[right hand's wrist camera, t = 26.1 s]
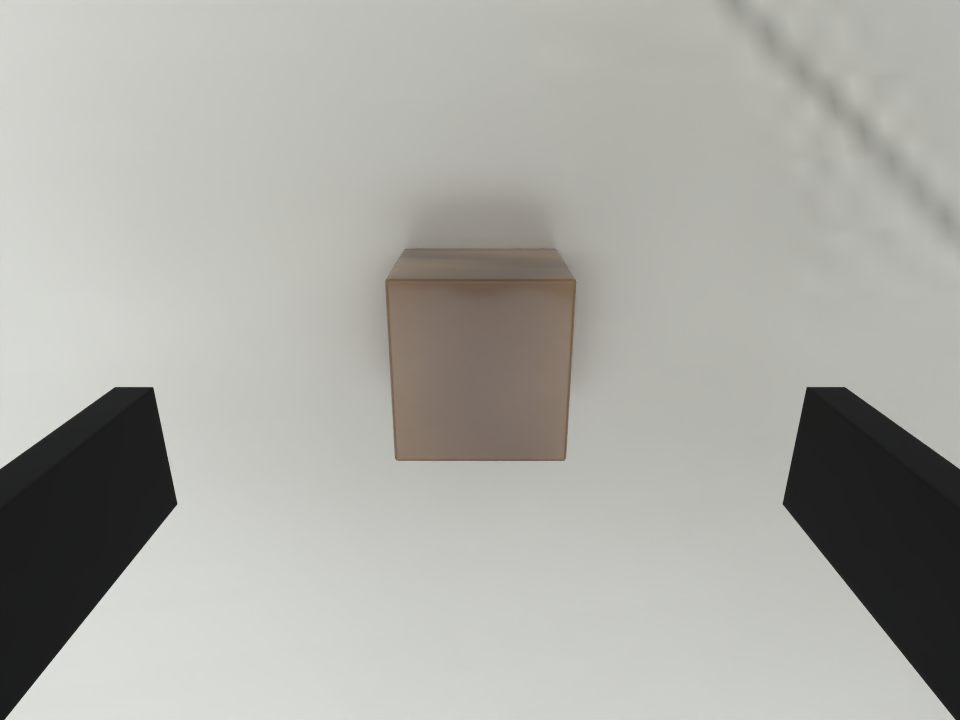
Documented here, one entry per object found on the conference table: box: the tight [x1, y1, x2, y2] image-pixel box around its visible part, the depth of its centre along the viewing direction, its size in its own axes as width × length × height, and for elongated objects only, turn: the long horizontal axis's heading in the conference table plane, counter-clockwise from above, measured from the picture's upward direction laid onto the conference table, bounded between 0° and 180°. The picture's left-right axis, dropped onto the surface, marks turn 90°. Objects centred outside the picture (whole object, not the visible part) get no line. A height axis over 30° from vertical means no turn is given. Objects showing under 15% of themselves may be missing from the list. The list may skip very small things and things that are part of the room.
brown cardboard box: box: [385, 249, 576, 461], centre depth 18 cm, size 5×5×4 cm
